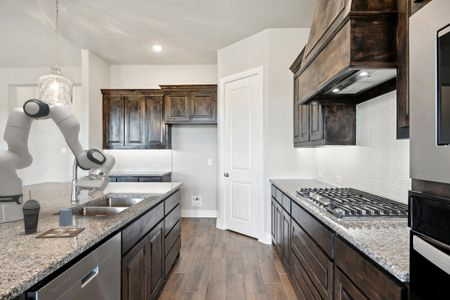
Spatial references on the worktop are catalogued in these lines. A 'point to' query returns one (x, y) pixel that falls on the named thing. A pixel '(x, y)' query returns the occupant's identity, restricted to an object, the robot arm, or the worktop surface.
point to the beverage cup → (31, 215)
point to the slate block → (65, 217)
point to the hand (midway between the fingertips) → (83, 195)
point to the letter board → (61, 233)
